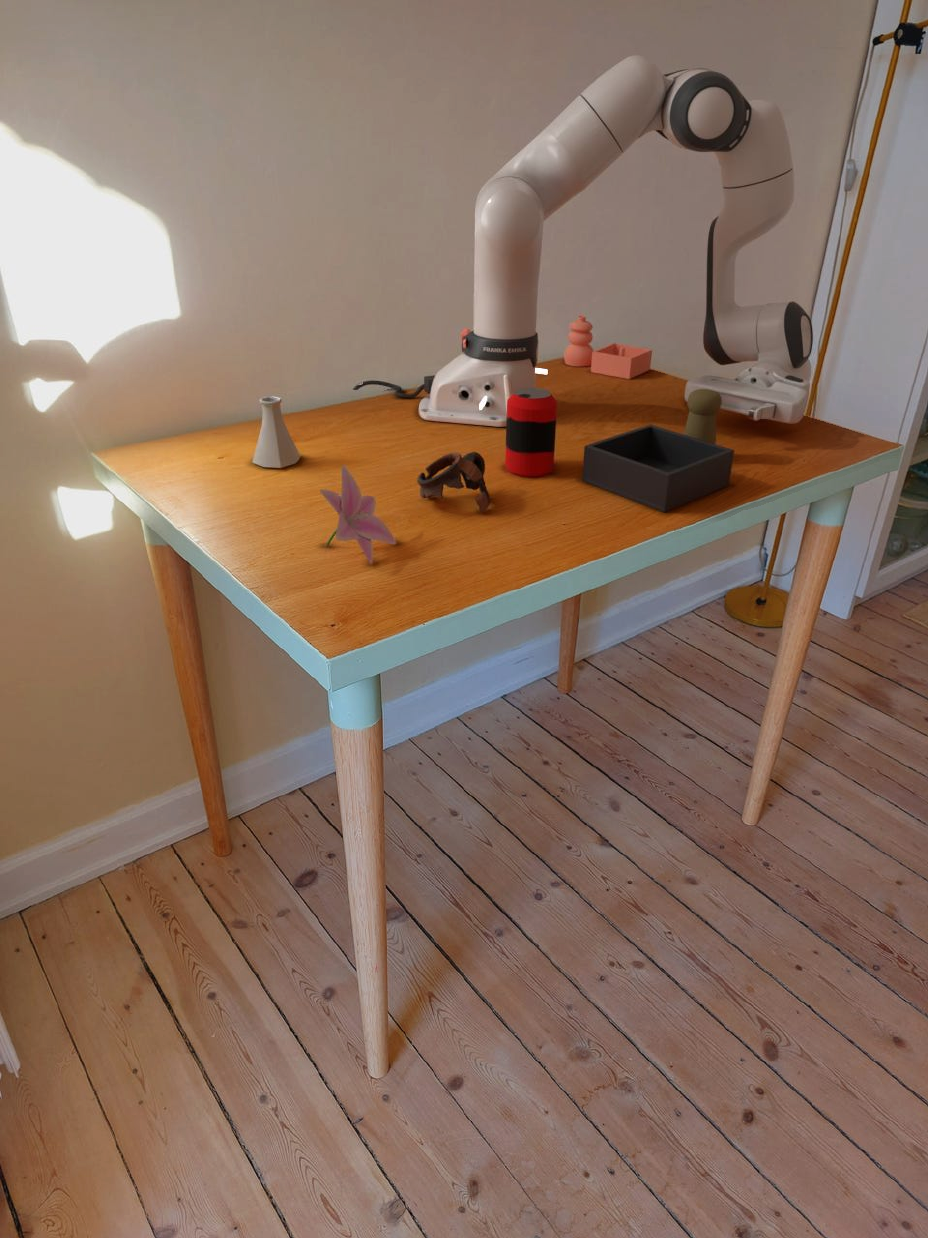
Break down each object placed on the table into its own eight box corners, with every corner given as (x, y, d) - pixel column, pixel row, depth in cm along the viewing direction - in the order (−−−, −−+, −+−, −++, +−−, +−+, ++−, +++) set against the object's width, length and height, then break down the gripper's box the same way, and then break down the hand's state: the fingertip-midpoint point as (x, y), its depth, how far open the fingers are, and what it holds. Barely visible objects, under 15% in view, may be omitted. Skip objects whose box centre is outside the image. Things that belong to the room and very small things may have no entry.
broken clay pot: (481, 525, 124) (450, 476, 120) (430, 538, 130) (399, 492, 126) (513, 475, 131) (485, 428, 128) (463, 490, 137) (435, 445, 134)
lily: (324, 586, 109) (360, 525, 105) (274, 523, 114) (306, 462, 109) (392, 580, 119) (427, 524, 114) (343, 522, 123) (375, 466, 119)
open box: (664, 512, 127) (669, 475, 124) (581, 481, 137) (584, 445, 134) (728, 485, 136) (734, 449, 133) (646, 457, 146) (650, 424, 143)
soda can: (495, 470, 140) (497, 393, 134) (522, 456, 146) (525, 382, 140) (536, 481, 137) (539, 403, 130) (562, 467, 142) (567, 391, 136)
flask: (308, 457, 145) (303, 395, 140) (282, 472, 139) (276, 408, 134) (271, 450, 147) (265, 390, 142) (244, 464, 142) (236, 402, 137)
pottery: (650, 369, 192) (655, 322, 187) (629, 379, 186) (634, 330, 181) (576, 356, 202) (580, 310, 197) (554, 364, 195) (557, 318, 190)
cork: (716, 466, 143) (726, 397, 137) (677, 463, 144) (686, 395, 138) (714, 453, 148) (725, 386, 142) (677, 450, 149) (686, 384, 143)
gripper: (706, 362, 162) (670, 378, 153) (819, 383, 151) (788, 402, 142) (701, 397, 165) (666, 415, 156) (812, 420, 154) (780, 440, 145)
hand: (725, 409), depth 149 cm, fingers open, 8 cm apart
